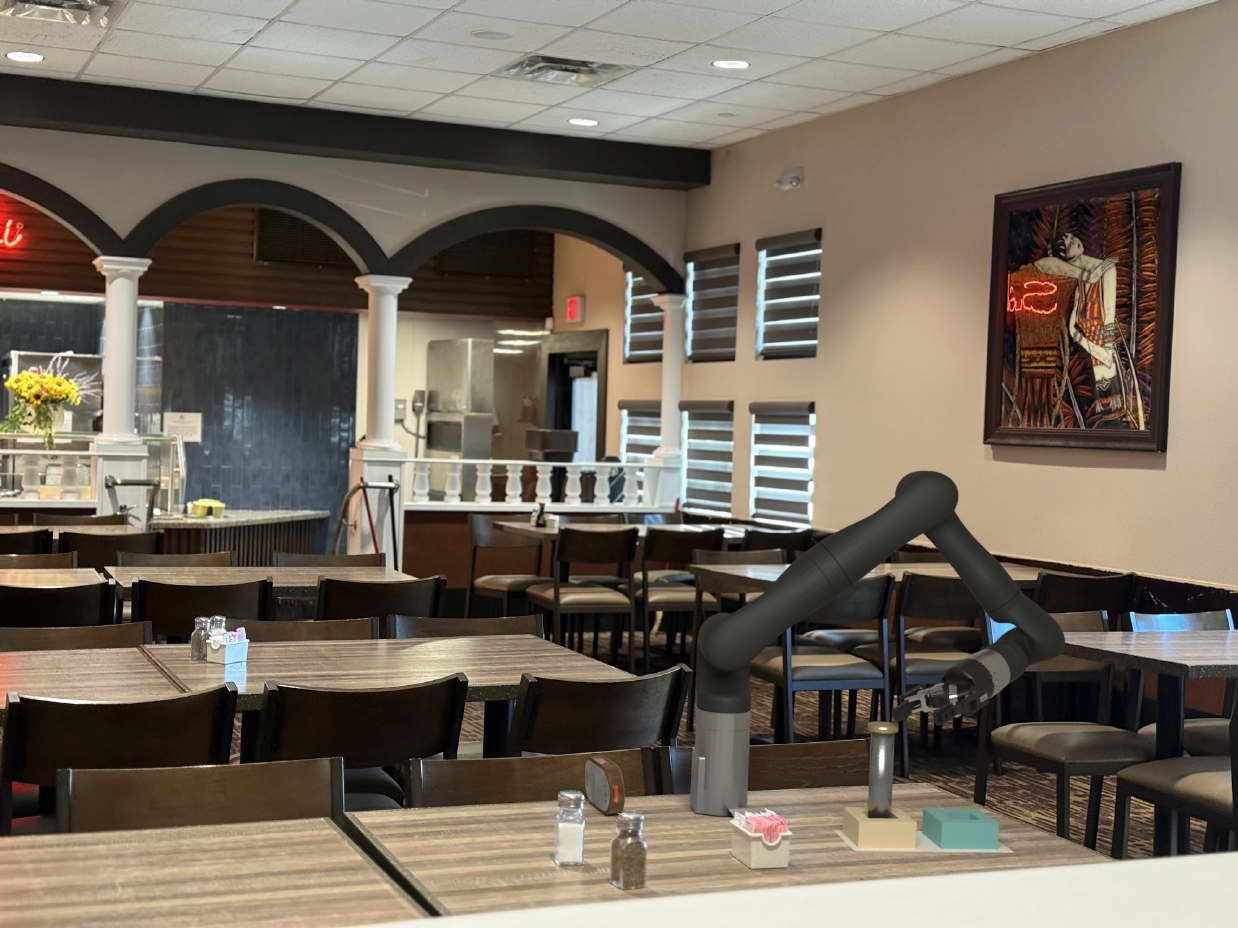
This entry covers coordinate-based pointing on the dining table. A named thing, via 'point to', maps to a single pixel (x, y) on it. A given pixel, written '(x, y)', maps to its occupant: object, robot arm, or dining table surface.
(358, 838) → the dining table surface
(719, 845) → the dining table surface
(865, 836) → the dock
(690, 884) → the dining table surface
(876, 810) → the pin
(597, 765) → the tin
